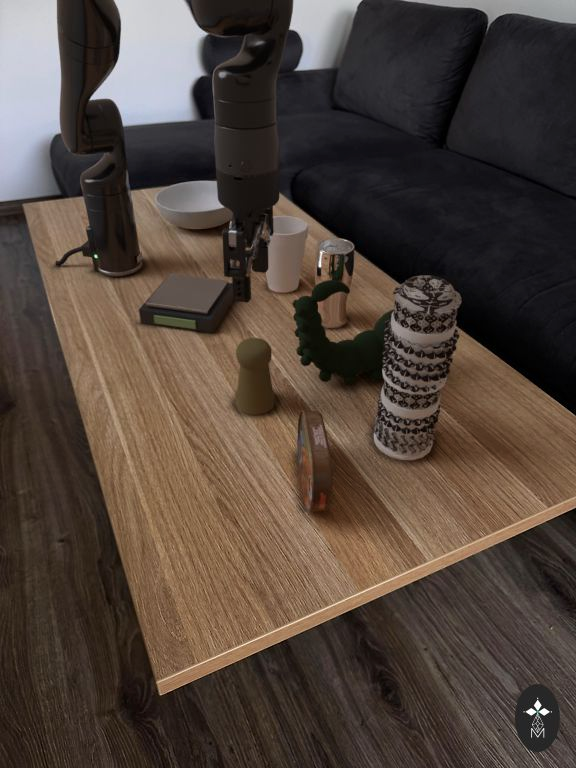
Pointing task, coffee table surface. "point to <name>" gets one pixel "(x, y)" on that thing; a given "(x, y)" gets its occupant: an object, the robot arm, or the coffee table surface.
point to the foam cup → (286, 253)
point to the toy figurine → (345, 354)
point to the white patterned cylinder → (415, 365)
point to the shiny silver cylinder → (334, 277)
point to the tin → (314, 461)
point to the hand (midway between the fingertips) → (251, 285)
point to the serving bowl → (192, 205)
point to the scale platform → (187, 293)
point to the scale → (188, 315)
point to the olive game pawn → (254, 377)
